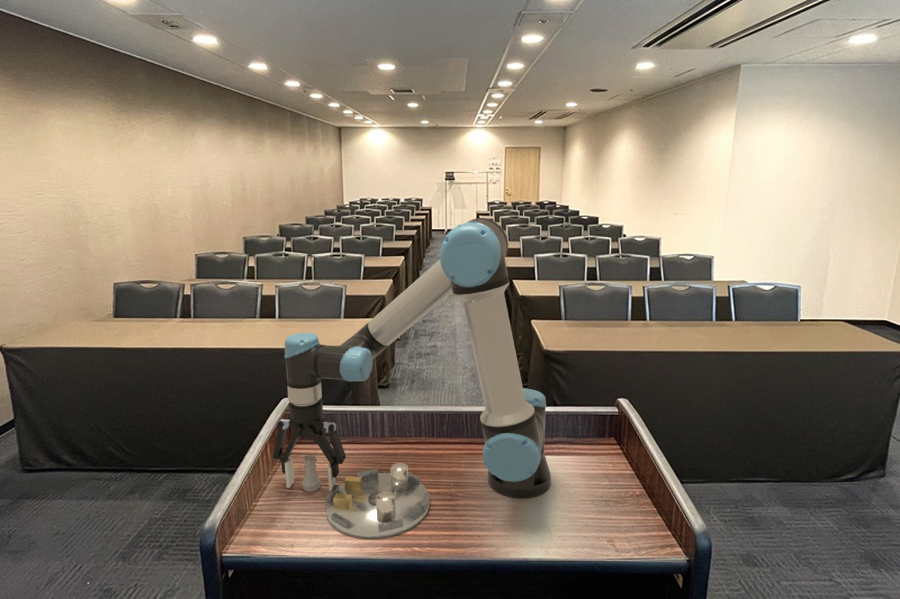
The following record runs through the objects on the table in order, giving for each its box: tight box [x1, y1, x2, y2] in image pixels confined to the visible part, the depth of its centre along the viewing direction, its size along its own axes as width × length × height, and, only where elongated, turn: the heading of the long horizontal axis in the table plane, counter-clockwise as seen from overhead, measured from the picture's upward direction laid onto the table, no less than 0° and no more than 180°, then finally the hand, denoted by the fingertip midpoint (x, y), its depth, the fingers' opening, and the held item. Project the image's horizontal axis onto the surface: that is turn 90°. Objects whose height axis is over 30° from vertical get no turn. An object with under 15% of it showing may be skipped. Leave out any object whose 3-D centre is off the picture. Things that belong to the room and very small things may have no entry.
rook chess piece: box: [301, 454, 322, 493], centre depth 132 cm, size 4×4×8 cm
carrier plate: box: [325, 462, 430, 540], centre depth 125 cm, size 23×23×6 cm
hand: (311, 486), depth 133 cm, fingers open, 10 cm apart
